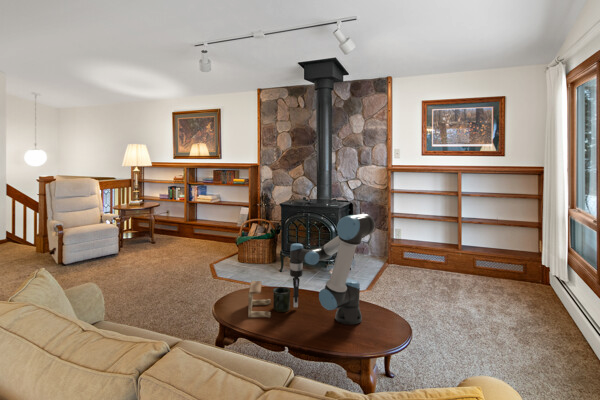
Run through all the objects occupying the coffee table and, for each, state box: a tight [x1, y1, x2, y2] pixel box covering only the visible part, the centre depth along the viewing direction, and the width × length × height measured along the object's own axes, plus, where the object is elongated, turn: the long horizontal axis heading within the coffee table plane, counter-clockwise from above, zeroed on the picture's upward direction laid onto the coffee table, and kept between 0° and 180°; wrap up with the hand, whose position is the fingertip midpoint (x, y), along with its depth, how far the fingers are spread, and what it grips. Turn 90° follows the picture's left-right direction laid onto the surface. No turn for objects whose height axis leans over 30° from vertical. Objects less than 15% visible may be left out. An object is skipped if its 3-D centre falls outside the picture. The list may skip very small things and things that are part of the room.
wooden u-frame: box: [247, 280, 272, 319], centre depth 216 cm, size 13×21×15 cm, turn 5°
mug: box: [272, 286, 292, 313], centre depth 217 cm, size 11×15×12 cm
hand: (295, 306), depth 218 cm, fingers closed
